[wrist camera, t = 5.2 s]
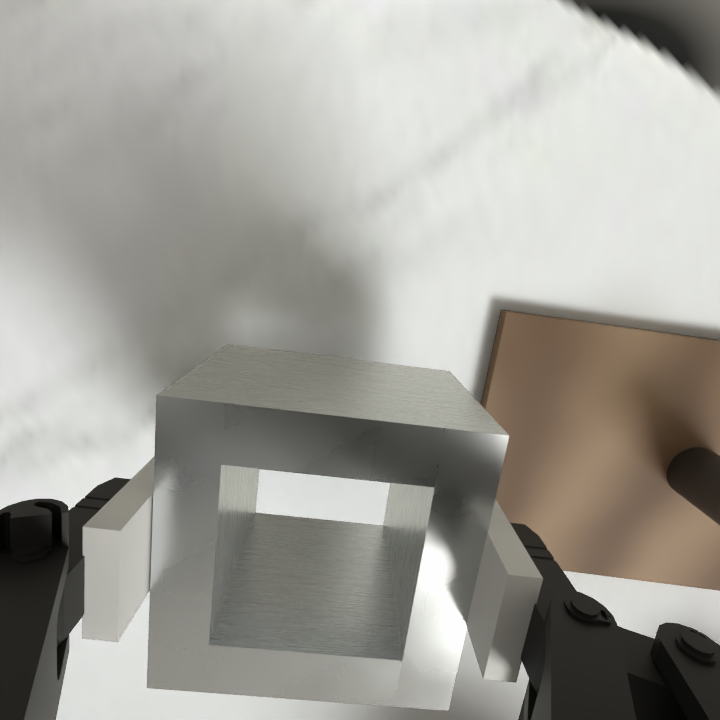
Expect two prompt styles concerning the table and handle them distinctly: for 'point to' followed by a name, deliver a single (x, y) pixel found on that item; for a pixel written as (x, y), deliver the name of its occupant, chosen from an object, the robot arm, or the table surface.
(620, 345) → the keeper
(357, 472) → the hollow square block
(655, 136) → the table surface
